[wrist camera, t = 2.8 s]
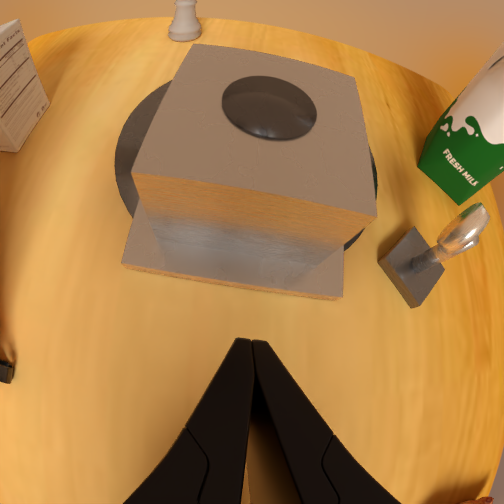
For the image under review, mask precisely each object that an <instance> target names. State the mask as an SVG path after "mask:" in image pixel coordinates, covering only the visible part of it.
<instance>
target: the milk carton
mask: <svg viewBox="0 0 504 504" xmlns="http://www.w3.org/2000/svg"><path fill="white" fill-rule="evenodd" d="M417 167H418V168H419V169H421V170H422V171H423V172H424V173H425V174H426V175H427V176H428V177H430V178H431V179H432V180H433V181H434V182H435V183H436V184H437V185H438V186H439V187H440V188H441V189H442V190H444V191H445V192H446V193H447V194H448V195H449V196H450V197H451V198H452V199H453V200H454V201H455V202H456V203H457V204H458V205H461V204H462V203H463V202H465V201H466V200H467V199H468V198H470V197H471V196H472V195H474V194H475V193H476V192H477V191H479V190H480V189H481V188H482V187H484V186H485V185H486V184H487V183H489V182H490V181H491V180H492V179H494V178H495V177H496V176H498V175H499V174H500V173H502V172H503V171H504V42H503V43H502V44H501V45H500V47H499V48H498V49H497V50H496V51H495V53H494V54H493V55H492V57H491V58H490V59H489V60H488V61H487V62H486V64H485V65H484V66H483V67H482V69H480V71H479V72H478V73H477V74H476V75H475V77H474V78H473V79H472V80H471V82H470V83H469V84H468V85H467V86H466V87H465V89H464V90H463V91H462V92H461V93H460V95H459V96H458V97H457V98H456V99H455V100H454V102H453V103H452V104H451V105H450V106H449V107H448V109H447V110H446V111H445V112H444V113H443V114H442V116H441V117H440V118H439V120H438V121H437V123H436V124H435V126H434V127H433V129H432V130H431V132H430V133H429V135H428V136H427V138H426V142H425V145H424V148H423V151H422V154H421V157H420V160H419V163H418V166H417Z"/></svg>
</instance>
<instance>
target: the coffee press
mask: <svg viewBox="0 0 504 504" xmlns="http://www.w3.org/2000/svg"><path fill="white" fill-rule="evenodd" d="M13 368H14V367H13V366H12V365H11V364H10V363H8V362H6V361H4V360H1V359H0V382H3V383H7V384H10V383H11V380H12V374H13Z"/></svg>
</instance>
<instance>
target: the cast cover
mask: <svg viewBox="0 0 504 504" xmlns="http://www.w3.org/2000/svg"><path fill="white" fill-rule="evenodd" d="M131 174H132V177H133V180H134V183H135V186H136V188H137V191H138V194H139V197H140V198H139V201H138V205H137V208H136V211H135V214H134V218H133V221H132V225H131V228H130V232H129V235H128V239H127V243H126V246H125V250H124V254H123V258H122V262H121V263H122V264H123V265H124V266H125V268H129V269H134V270H139V271H145V272H150V273H155V274H161V275H167V276H172V277H178V278H184V279H190V280H196V281H202V282H208V283H214V284H220V285H227V286H233V287H240V288H246V289H253V290H260V291H267V292H274V293H281V294H289V295H296V296H304V297H311V298H319V299H328V300H338V299H340V298H343V268H344V244H345V243H347V242H348V241H349V240H350V239H351V238H353V237H354V236H355V235H356V234H358V233H359V232H360V231H361V230H362V229H364V228H365V227H366V226H367V225H368V224H370V223H371V222H372V221H373V220H374V219H376V218H377V209H376V198H375V189H374V181H373V173H372V165H371V158H370V152H369V146H368V140H367V134H366V128H365V123H364V118H363V113H362V108H361V103H360V99H359V94H358V90H357V86H356V82H355V78H354V77H351V76H348V75H345V74H342V73H339V72H336V71H333V70H330V69H327V68H323V67H320V66H316V65H313V64H309V63H305V62H302V61H298V60H294V59H289V58H285V57H281V56H276V55H271V54H266V53H261V52H256V51H250V50H244V49H237V48H230V47H222V46H214V45H203V44H193V45H192V47H191V48H190V50H189V52H188V54H187V55H186V57H185V59H184V60H183V62H182V64H181V66H180V67H179V69H178V71H177V73H176V75H175V76H174V78H173V80H172V82H171V84H170V86H169V88H168V90H167V92H166V94H165V96H164V98H163V100H162V102H161V104H160V106H159V108H158V110H157V112H156V114H155V116H154V118H153V120H152V123H151V125H150V127H149V129H148V131H147V134H146V136H145V138H144V141H143V143H142V145H141V148H140V150H139V152H138V155H137V157H136V160H135V162H134V165H133V167H132V170H131Z"/></svg>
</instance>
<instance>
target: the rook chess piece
mask: <svg viewBox="0 0 504 504" xmlns="http://www.w3.org/2000/svg"><path fill="white" fill-rule="evenodd" d="M196 3H197V1H196V0H176V2H175V5H176V12H175V17H174V20H173V21H172V24H171V25H170V26H169V31H170V32H169V33H168V36H169V37H170V38H171V39H172V40H174V41H177V42H188V41H192V40H195V39H197V38H198V37H199V36H200V34H201V30H200V29H201V24H200V23H199V22H198V19H197V18H196V12H195V4H196Z"/></svg>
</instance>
